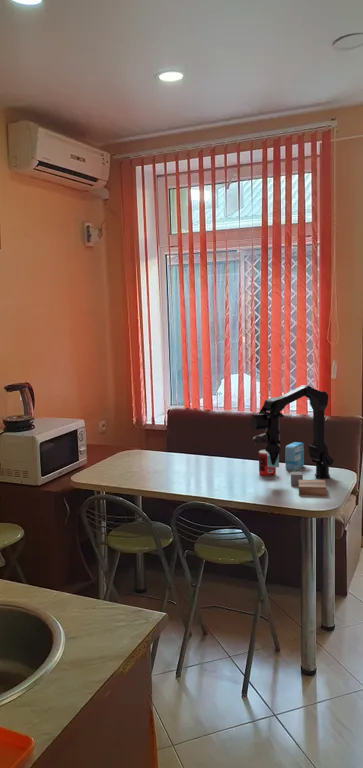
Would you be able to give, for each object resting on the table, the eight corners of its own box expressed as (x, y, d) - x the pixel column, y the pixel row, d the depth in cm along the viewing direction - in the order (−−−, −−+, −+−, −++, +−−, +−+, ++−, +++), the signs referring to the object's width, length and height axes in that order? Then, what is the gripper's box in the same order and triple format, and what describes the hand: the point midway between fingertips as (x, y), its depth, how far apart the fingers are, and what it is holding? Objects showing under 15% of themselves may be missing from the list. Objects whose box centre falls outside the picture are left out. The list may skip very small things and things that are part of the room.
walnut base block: (298, 488, 250) (298, 479, 250) (324, 489, 248) (324, 480, 248) (299, 496, 239) (298, 486, 239) (326, 497, 237) (326, 487, 237)
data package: (294, 471, 277) (293, 446, 275) (285, 470, 279) (285, 445, 278) (304, 466, 287) (304, 442, 285) (295, 465, 289) (295, 441, 288)
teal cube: (267, 464, 256) (267, 453, 256) (278, 464, 255) (278, 453, 255) (267, 467, 251) (267, 455, 251) (279, 467, 250) (278, 455, 250)
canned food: (278, 473, 275) (278, 450, 273) (271, 477, 268) (271, 453, 267) (263, 471, 279) (263, 448, 278) (256, 475, 272) (256, 452, 271)
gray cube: (290, 482, 258) (290, 471, 258) (302, 482, 258) (302, 471, 257) (291, 485, 253) (291, 474, 253) (302, 486, 253) (302, 474, 252)
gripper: (254, 424, 262) (255, 458, 264) (253, 432, 244) (253, 468, 245) (279, 424, 260) (280, 458, 262) (280, 432, 242) (280, 468, 243)
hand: (273, 463), depth 253 cm, fingers closed on teal cube, 5 cm apart
